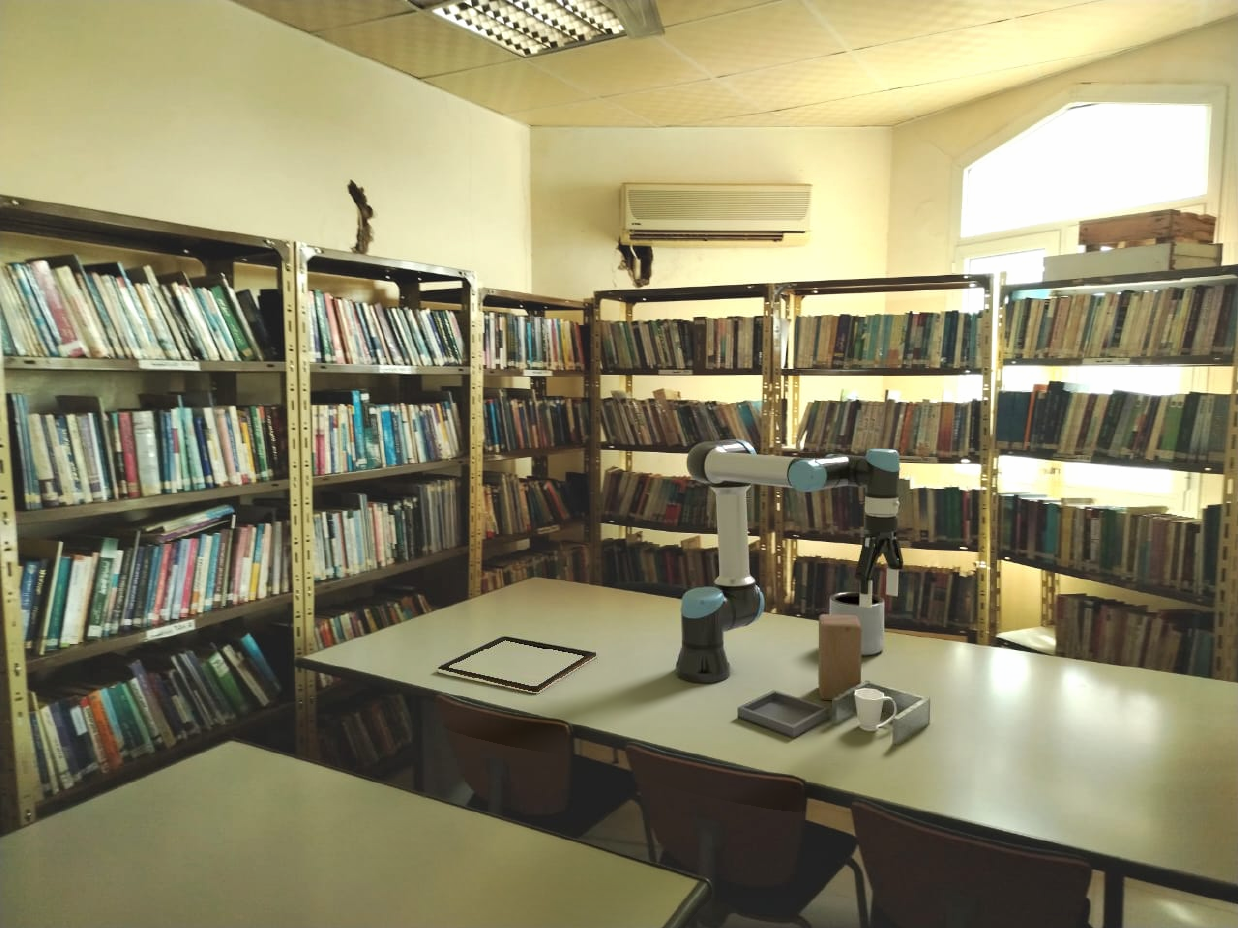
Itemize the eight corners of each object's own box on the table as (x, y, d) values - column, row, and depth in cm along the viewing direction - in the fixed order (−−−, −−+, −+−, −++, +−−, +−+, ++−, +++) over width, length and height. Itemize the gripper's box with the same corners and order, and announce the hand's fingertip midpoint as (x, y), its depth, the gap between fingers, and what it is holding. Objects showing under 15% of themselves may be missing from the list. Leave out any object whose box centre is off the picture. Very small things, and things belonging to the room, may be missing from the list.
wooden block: (861, 703, 195) (862, 626, 193) (820, 700, 197) (820, 624, 195) (857, 688, 205) (858, 614, 203) (818, 685, 207) (818, 612, 205)
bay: (831, 722, 184) (832, 698, 184) (866, 703, 195) (866, 680, 194) (897, 745, 172) (897, 719, 172) (929, 722, 183) (930, 698, 183)
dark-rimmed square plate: (428, 679, 217) (427, 669, 217) (493, 641, 250) (493, 633, 250) (549, 699, 203) (549, 688, 203) (602, 656, 236) (602, 647, 235)
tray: (737, 717, 188) (737, 707, 188) (773, 699, 198) (774, 689, 198) (793, 738, 176) (793, 727, 176) (829, 718, 187) (829, 707, 186)
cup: (849, 720, 185) (849, 688, 184) (890, 719, 185) (890, 686, 185) (859, 734, 178) (859, 700, 177) (902, 732, 178) (902, 698, 178)
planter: (895, 649, 234) (896, 599, 232) (860, 661, 225) (861, 608, 223) (852, 636, 247) (852, 588, 245) (817, 646, 238) (818, 596, 236)
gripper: (871, 523, 173) (869, 615, 176) (919, 509, 191) (916, 593, 193) (840, 519, 179) (838, 608, 181) (890, 505, 196) (887, 587, 199)
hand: (879, 601), depth 187 cm, fingers open, 13 cm apart
